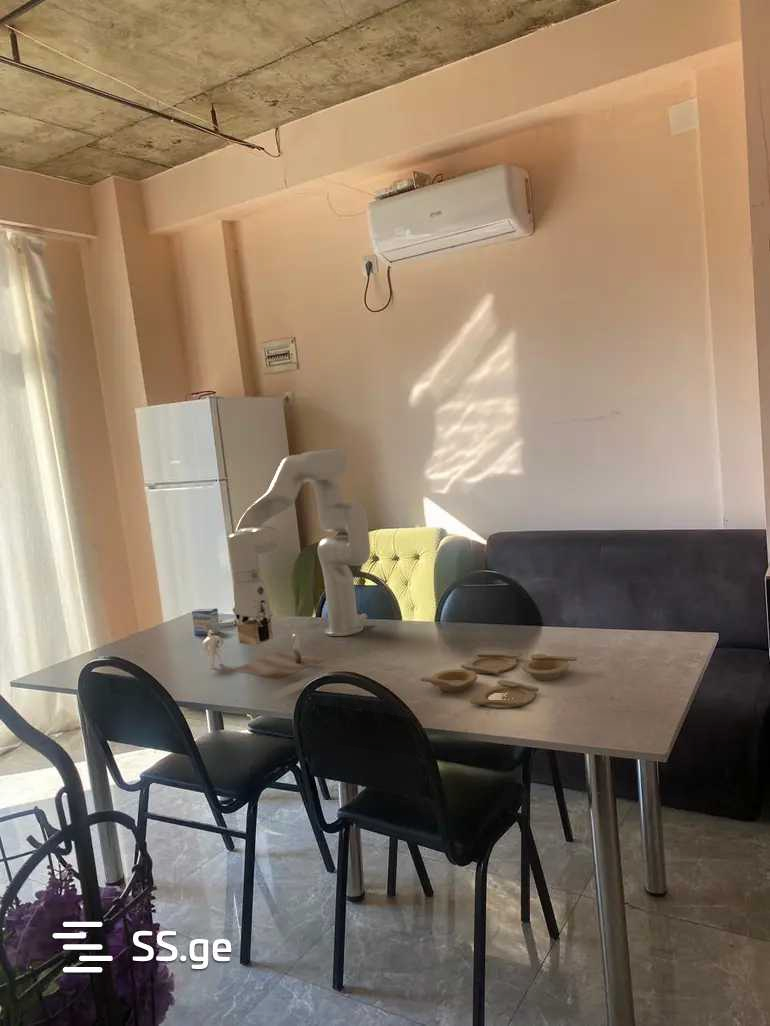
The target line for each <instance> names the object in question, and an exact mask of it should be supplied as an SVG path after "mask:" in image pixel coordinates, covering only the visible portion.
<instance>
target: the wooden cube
mask: <svg viewBox="0 0 770 1026" xmlns="http://www.w3.org/2000/svg"><path fill="white" fill-rule="evenodd" d="M260 619H261V621H262V620H263V618H262V617H261V618H260ZM236 627H237V634H238V639H239V641H238V642H239V644H244V645H249V646H256V647H257V646H258V645H261V644H262V643H265V642H268V641H270V640H273V639H274V635H273V634H274V633H273V629H272V621H271V620H270V621H269V625H268V630H269V639H266V640H264V641H260V639H259V632H258V627H259V625H258V622H257V620H256V618H254V617H251V618H249V620H247V621H244V622H242V623H239V622H238V623H237V624H236Z"/></svg>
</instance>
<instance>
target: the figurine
mask: <svg viewBox="0 0 770 1026" xmlns="http://www.w3.org/2000/svg"><path fill="white" fill-rule="evenodd" d="M223 645H224V639H223V638H222V637H220V636H219V635H216V634H215V635H214V633H213V631H212V630H209V632H208V635H207V636H206V638H205V639H204V640H203V642H201V649H202V650H203V651H205V652H207V655H206V657H207V658H208V656H209V659H210V661H209V664H210V665H209V669H213V668H214V660H215V657H216V659H217V661H218V664H219V666H221V665H223V662H222V658H221V653H222V650H220V649H221V647H222V646H223Z"/></svg>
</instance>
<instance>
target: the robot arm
mask: <svg viewBox="0 0 770 1026" xmlns="http://www.w3.org/2000/svg"><path fill="white" fill-rule="evenodd" d="M348 464H349V462H348V457H347V455H346V453H345V452H343V451H342V450H340V449H337V448H335V449H324V450H323V449H322V450H311V451H307V452H302V453H300V454H292V455H288V456H286V457H284V458H283V459H282V460H281V462H280V463H279V466H278V468H277V470H276V472H275V475H274V477H273V479H272V481H271V483H270V485H269V488H268V489H267V490H266V493H264V494H263V495H262V496H260V498H259V499H257V500H256V501H255V502H254V503H253V504H252V505H250V506H249V507H248V508H247V510H246V511H245V512H244V513H243V514H242V516H241V518H240V519H239V522H238V523H237V526H236V528H235V530H234V532H233V533H231V534H230V535H228V538H227V542H228V549H229V556H230V563H231V569H232V570H231V571H232V575H233V577H232V578H233V598H234V599H233V602H234V607H233V609H232V613H233V614H234V615H235V617H236V619H237V620H238V624H239V623H242V622H244V621H247V620H250V619H251V618H256V620H257V622H258V625H259V627H258V632H259V639H260V641H264V640H266V639H269V630H268V625H269V621H270V620H271V619H272V617H273V615H274V613H273V611H272V610H271V605H270V600H269V595H268V591H267V588H266V587H267V586H266V584H265V582H264V579H262V574H261V573H262V572H261V568H260V567H261V566H260V558H259V555H261V554H270V553H273V552H275V551H276V550H278V549H279V548H280V546H281V545H282V543H283V542H282V541H283V540H282V539H283V537H282V533H281V532H280V530H279V529H278V528H276V527H274V526H269V525H268V526H267V525H265V526H264V524H265V523H266V522H267V521H269V520H270V519H272V518H274V517H276V516H278V515H280V514H283V513H284V512H286V511H289V510H290V509H291V508H292V507H293V506H294V505H295V504H294V503H295V501H296V499H297V497H298V494H299V493H300V490H301V488H302V486H303V484H305V483H310V484H311V485H312V487H313V488H314V493H315V497H316V505H317V516H318V522H319V526H320V528H321V529H322V531H324V532H327V533H328V532H329V533H343V532H344V533H346V534H347V535H331V536H326V537H323V538H322V539H321V540H320V541H319V543H318V545H317V556H318V559H319V564H320V565H321V571H322V575H323V582H324V589H325V600H326V607H327V608H326V609H327V617H328V624H329V625H328V627H326V628H325V629H324V633H325V635H327V636H329V637H330V636H331V637H344V636H345V637H346V636H352V635H355V634H359V633H361V632H362V631H363V630H364V625H363V624H362V623H361V622H362V621H364V620H366V619H368V615H367V614H366V613H361V614H358V609H357V601H356V593H355V591H356V590H355V581H354V576H353V573H352V570H351V569H350V567H349V566H362V565H364V564H366V563H367V562H368V560H369V559H370V554H371V544H370V534H369V524H368V522H369V521H368V516H367V513H366V510H365V508H364V506H363V505H362V504H361V503H359V502H356V501H345V500H344V496H343V495H344V494H343V488H342V485H341V483H340V481H339V479H338V477H341V476H343V475H344V474H345V473H346V472H347V469H348V467H349V466H348ZM260 618H263V620H262V621H261V619H260Z"/></svg>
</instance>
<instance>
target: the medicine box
mask: <svg viewBox="0 0 770 1026" xmlns="http://www.w3.org/2000/svg"><path fill="white" fill-rule="evenodd" d="M191 616H192V625H193V633H194V635H195V636H208V632H209V630H212V631H213V633H214V635H215V636H216V635H218V633H220V632H221V627H220V626H221V625H220V620H219V619H220V618H219V611H218V608H197V609H194V610H192V611H191Z"/></svg>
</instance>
